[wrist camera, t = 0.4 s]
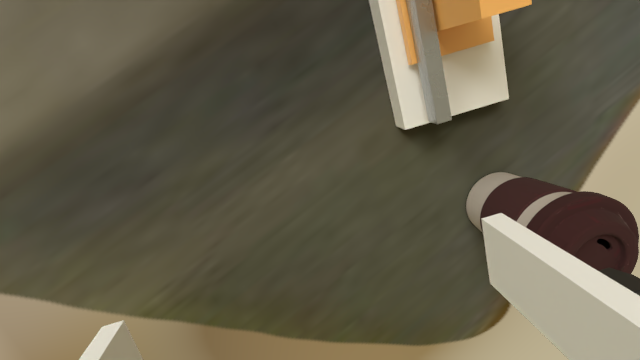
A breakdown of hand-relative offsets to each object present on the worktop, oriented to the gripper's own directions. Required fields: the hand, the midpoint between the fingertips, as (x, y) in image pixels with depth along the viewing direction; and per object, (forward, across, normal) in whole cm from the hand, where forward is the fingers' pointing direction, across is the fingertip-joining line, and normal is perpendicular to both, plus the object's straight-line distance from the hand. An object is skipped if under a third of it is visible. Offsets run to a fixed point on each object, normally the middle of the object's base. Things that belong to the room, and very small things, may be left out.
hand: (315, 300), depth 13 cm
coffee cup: (+27, +22, -12) cm, 37 cm away
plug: (+27, +17, +10) cm, 33 cm away
